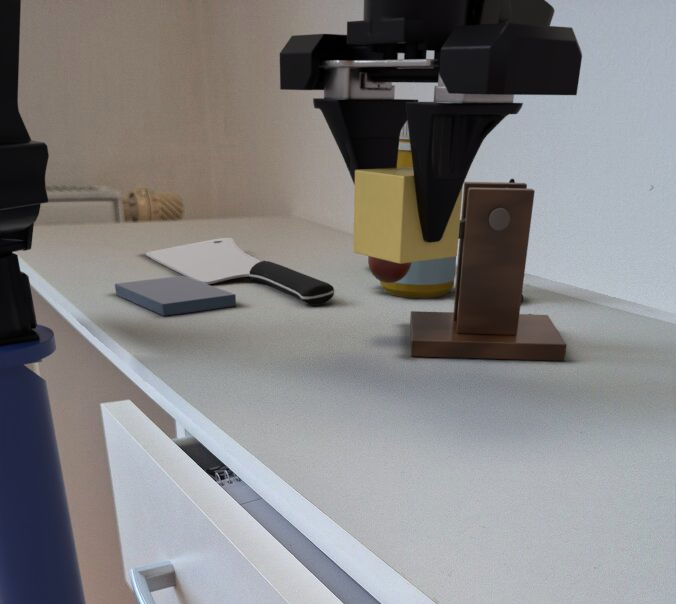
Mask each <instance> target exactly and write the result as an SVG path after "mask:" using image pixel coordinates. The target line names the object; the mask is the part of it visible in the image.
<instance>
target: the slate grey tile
mask: <svg viewBox="0 0 676 604" xmlns="http://www.w3.org/2000/svg"><path fill="white" fill-rule="evenodd" d="M114 288H115V289H114V291H115V295H116V296H118V297H120V298H122V299H125V300H127V301H129V302H131V303H134V304H136V305H139V306H141V307H143V308H145V309H147V310H150V311H151V312H154V313H156V314H158V315H161V316H162V317H167V316H174V315H182V314H188V313H196V312H197V313H198V312H203V311H210V310H217V309H223V308H231V307H237V298H236V297H237V295H236V294H235V293H232V292H230V291H227V290H224V289H221V288H218V287H216V286H213V285H211V284H205V283H202V282H199V281H196V280H193V279H191V278H188V277H187V276H185V275H176V276H169V277H160V278H154V279H153V278H152V279H143V280H135V281H126V282H118V283H114Z"/></svg>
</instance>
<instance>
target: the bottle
mask: <svg viewBox="0 0 676 604" xmlns="http://www.w3.org/2000/svg"><path fill="white" fill-rule="evenodd" d="M403 167H413V163H412V155H411V146H410V139H409V130H408V121H406V123H405V124H404V126H403V128H402V130H401V132H400V137H399V149H398V159H397V168H403ZM456 264H457V256H456V257H450V258H442V259H434V260H426V261H418V262H412V263H411V267H410V269H409V271H408V273H407V274H406V276H405V277H404V278H402V279H401V280H399V281H397V282H394V283H385V282H382V281H380V280H379V281H380V286H381V287H382V288H383V290H384V291H385V293H386V294H389V295H392V296H396V297H401V298H402V297H403V298H412V299H413V298H414V299H430V298H438V297H443V296H445V295H448V294H449V292H450V291H451V290H452V289H453V288H454V285H455V279H456V278H455V276H456V267H457V265H456Z"/></svg>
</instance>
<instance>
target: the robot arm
mask: <svg viewBox="0 0 676 604" xmlns="http://www.w3.org/2000/svg"><path fill="white" fill-rule="evenodd" d="M21 3H22V0H0V346H4V345H11V344H17V343H24V342H31V341H37V340H39V339H40V337H39V333H37V332H35V331H34V330H32V329H35V328H36V327H37V324H38V321H37V316H36V311H35V310H36V309H35V306H34V299H33V294H32V289H31V282H30V277H29V275H28V274H27V273H25V272H23V271H21V267H20V266H21V265H20V261H19V255H18V254H16V253H15V252H20V251H22V252H23V251H24V252H25V251H30V250H31V249H32V245H33V238H34V237H33V235H34V228H35V227H34V226H35V222H37V219H38V218H39V215H40V210H41V206H42V204H48V203H49V197H48V193H47V189H46V173H47V167H48V162H49V157H50V155H49V154H50V153H49V149H48V144H46V142H43V141H38V140H33V139H32V137H31V136H30V133H29V131H28V129H27V127H26V125H25V121H24V119H23V117H22V115H21V112H20V109H19V77H20V76H19V71H20V42H21V41H20V39H21V7H22V6H21V5H22V4H21ZM554 14H555V7H554V6H553V5H551V4H550V3H549V2H548V1H547V0H363V17H362V19H363V20H352V21H346V34H339V33H338V34H337V33H312V34H297V35H295V34H294V35H291V36H290V38H289V39H288V41H287V42H286V44H285V45H284V46H283V48H282V49H281V50H280V52H279V89H280V91H281V90H282V91H285V90H286V91H323V98H320V97H319V98H318V97H315V98H312V103H313V104H312V105H313V108H314V109H318V110H320V111H321V113H322V115H323V118H324V120H325V122H326V124H327V126H328V128H329V130H330V132H331V135H332V137H333V140H334V141H335V143H336V146H337V147H338V150H339V151H340V154H341V157H342V159H343V161H344V163H345V165H346V168H347V171H348V173H349V176H350V178H351V180H352V183H353V185H354V187H355V170H362V169H383V168H397V159H398V149H399V137H400V132H401V130H402V128H403V126H404V124H405V123H406V121H408V130H409V139H410V146H411V155H412V163H413V172H414V181H415V190H416V198H417V207H418V215H419V220H420V225H421V230H422V235H423V240H424V241H425V242H428V243H431V242H438V241H440V240H441V239H442V237H443V234H444V232H445V229H446V227H447V224H448V222H449V219H450V217H451V214H452V211H453V209H454V206H455V204H456V201H457V199H458V196H459V194H460V191H461V189H462V186H463V187H464V182H466V179H467V176H468V173H469V171H470V169H471V167H472V165H473V162H474V160H475V158H476V156H477V154H478V152H479V150H480V149H481V146H482V144H483V142H484V140H485V139H486V138H487V136H489V134H490V133H491V132H492V131H493V130H494V129H495V128H497V126H498V125H499V124H500V123H501V122H502V121H503V120H504V119H505V118H506V117H508V116H509V115H517V114H519V112H520V111H521V110H522V108H523V105H524V102H514V97H515V96H577V95H578V88H579V81H580V73H581V67H582V59H583V52H582V49H581V46H580V44H579V41H578V39H577V36H576V34H575V31H574V29H573V27H570V26H555V25H551V23H552V21H553V18H554V16H555V15H554ZM429 51H432V52H433V58H427V53H428V52H429ZM399 54H403V59H399V58H398V57H399ZM393 83H410V84H411V83H414V84H415V83H422V84H423V83H424V84H425V83H426V84H430V83H431V84H434V83H435V84H437V85H434V88H433V89H434V90H433V101H419V99H409V98H395V92H396V85H394V84H393Z"/></svg>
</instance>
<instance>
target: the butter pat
mask: <svg viewBox="0 0 676 604" xmlns="http://www.w3.org/2000/svg"><path fill="white" fill-rule="evenodd" d="M463 191H464V185H463V186H462V189H461V191H460V194H459V196H458V199H457V201H456V204H455V206H454V209H453V211H452V214H451V217H450V219H449V222H448V224H447V227H446V229H445V232H444V234H443V237H442V239H441V240H440V241H438V242H431V243H428V242H425V241H424V240H423V235H422V230H421V225H420V220H419V215H418V207H417V198H416V190H415V181H414V172H413V167H403V168H383V169H362V170H355V186H354V192H353V193H354V200H353V201H354V202H353V203H354V204H353V239H352V240H353V241H352V243H353V245H352V251H353V253H354V254H357V255H358V254H359V255H363V256H367V257H368V256H370V257H374V258H378V259H382V260H387V261H391V262H395V263H399V264H402V263H410V262H418V261H426V260H434V259H442V258H450V257H456V258H457V257H458V251H459V239H458V238H459V226H460V220H461V215H462V203H463Z"/></svg>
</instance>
